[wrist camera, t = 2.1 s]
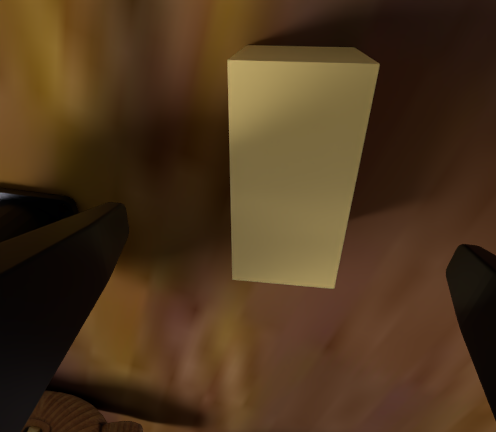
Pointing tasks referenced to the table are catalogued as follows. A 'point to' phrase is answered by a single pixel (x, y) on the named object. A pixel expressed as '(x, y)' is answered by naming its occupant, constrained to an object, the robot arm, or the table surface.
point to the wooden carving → (72, 416)
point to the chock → (295, 158)
